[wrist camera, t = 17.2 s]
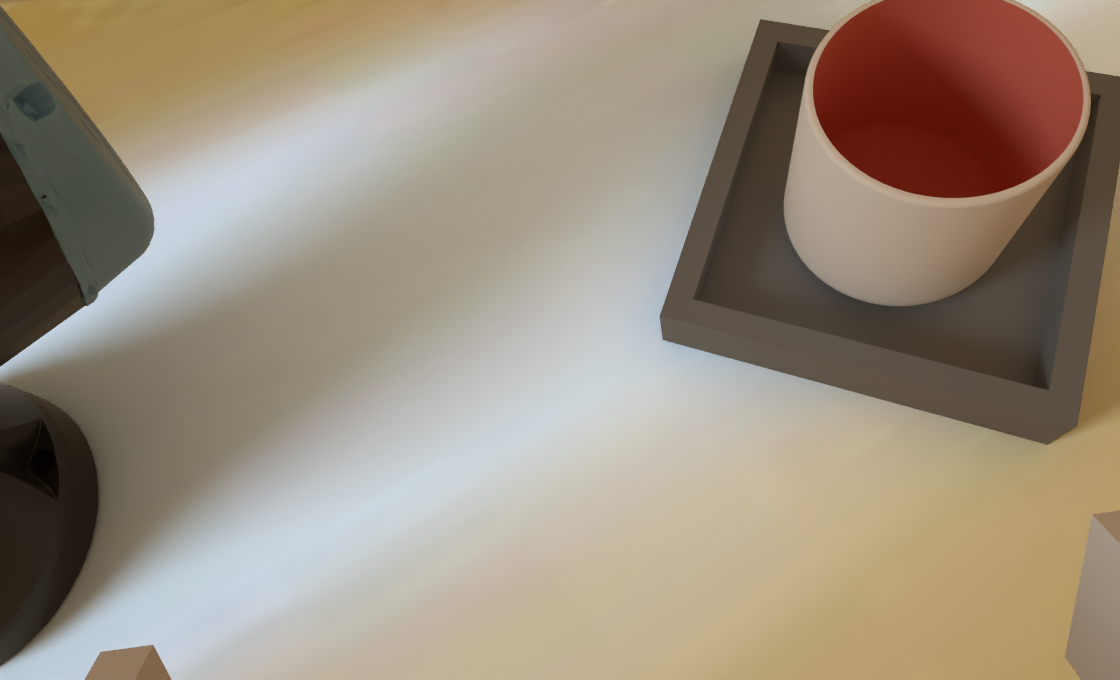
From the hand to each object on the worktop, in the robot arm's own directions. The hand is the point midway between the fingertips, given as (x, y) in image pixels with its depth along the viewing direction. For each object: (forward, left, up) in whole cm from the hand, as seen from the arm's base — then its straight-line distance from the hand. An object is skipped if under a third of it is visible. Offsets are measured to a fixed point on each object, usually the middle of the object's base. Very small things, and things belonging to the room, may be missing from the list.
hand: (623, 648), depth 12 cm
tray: (+4, +22, -25) cm, 34 cm away
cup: (+4, +22, -24) cm, 33 cm away
